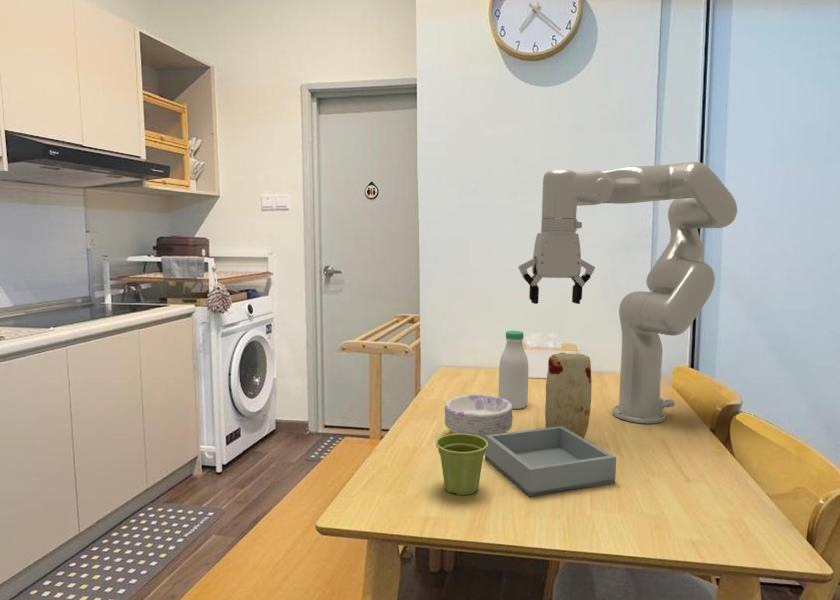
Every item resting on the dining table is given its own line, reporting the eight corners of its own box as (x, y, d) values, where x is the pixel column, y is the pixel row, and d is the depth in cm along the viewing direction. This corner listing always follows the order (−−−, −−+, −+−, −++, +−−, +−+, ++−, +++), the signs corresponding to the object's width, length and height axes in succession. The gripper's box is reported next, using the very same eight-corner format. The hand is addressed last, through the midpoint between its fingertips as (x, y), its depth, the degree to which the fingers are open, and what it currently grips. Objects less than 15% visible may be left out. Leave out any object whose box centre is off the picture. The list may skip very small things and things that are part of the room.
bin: (561, 448, 124) (561, 426, 123) (615, 483, 107) (616, 457, 106) (484, 458, 118) (485, 435, 117) (529, 497, 101) (530, 469, 100)
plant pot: (444, 503, 98) (445, 454, 97) (428, 480, 107) (429, 435, 106) (495, 496, 101) (496, 449, 100) (475, 475, 110) (476, 431, 109)
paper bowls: (435, 444, 126) (435, 409, 125) (455, 422, 140) (455, 391, 139) (504, 453, 121) (505, 417, 120) (517, 430, 135) (518, 397, 134)
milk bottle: (529, 409, 151) (531, 334, 148) (500, 409, 151) (501, 334, 148) (524, 401, 158) (526, 329, 156) (496, 401, 158) (498, 329, 156)
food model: (543, 443, 127) (546, 354, 124) (544, 433, 133) (547, 348, 131) (590, 447, 124) (593, 356, 122) (588, 437, 131) (592, 350, 128)
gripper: (589, 227, 133) (585, 301, 135) (516, 226, 131) (513, 301, 133) (602, 227, 126) (598, 305, 128) (525, 226, 124) (522, 305, 126)
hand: (555, 303), depth 131 cm, fingers open, 9 cm apart
